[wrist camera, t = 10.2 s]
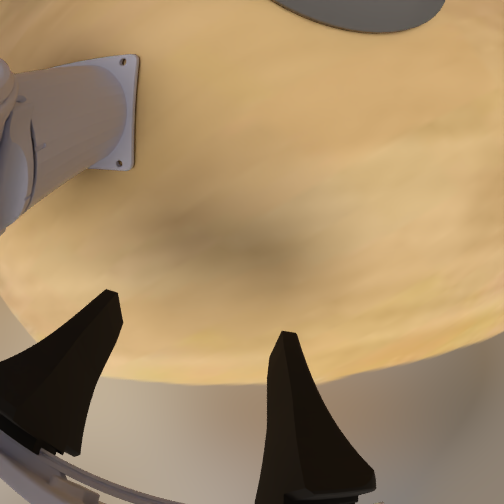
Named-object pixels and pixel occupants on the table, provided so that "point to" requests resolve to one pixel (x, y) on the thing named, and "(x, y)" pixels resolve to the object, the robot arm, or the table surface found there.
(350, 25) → the plate
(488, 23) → the table surface
